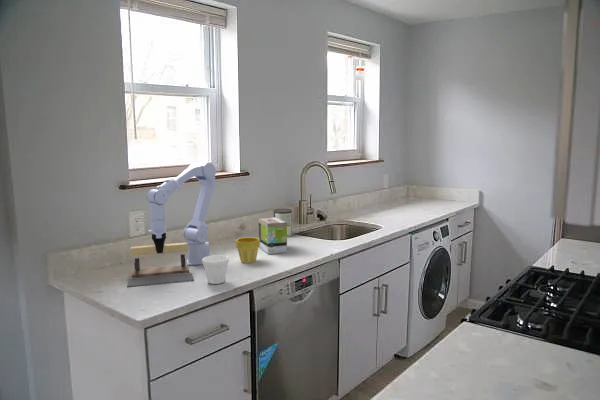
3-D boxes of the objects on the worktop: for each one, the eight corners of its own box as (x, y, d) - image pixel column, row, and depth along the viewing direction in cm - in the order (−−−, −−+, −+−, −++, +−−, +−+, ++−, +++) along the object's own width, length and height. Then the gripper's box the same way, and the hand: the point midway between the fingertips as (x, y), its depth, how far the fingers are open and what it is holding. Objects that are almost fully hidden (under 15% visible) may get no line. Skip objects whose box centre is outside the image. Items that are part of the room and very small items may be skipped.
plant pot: (246, 256, 211) (245, 235, 209) (264, 259, 206) (264, 238, 204) (231, 262, 202) (230, 240, 201) (250, 265, 197) (250, 243, 195)
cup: (197, 282, 175) (196, 258, 174) (219, 276, 182) (218, 253, 181) (212, 288, 168) (211, 263, 167) (234, 282, 175) (234, 258, 174)
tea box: (287, 252, 218) (287, 221, 216) (267, 254, 215) (267, 223, 212) (277, 245, 232) (277, 216, 230) (258, 247, 228) (257, 218, 226)
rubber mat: (192, 274, 186) (192, 273, 186) (193, 280, 177) (193, 279, 177) (128, 279, 179) (128, 278, 179) (127, 287, 170) (127, 286, 170)
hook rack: (187, 267, 195) (187, 253, 195) (189, 272, 188) (188, 258, 187) (132, 272, 189) (131, 257, 188) (131, 277, 181) (130, 263, 181)
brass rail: (187, 249, 192) (187, 242, 192) (187, 251, 189) (187, 244, 189) (131, 254, 186) (130, 246, 185) (130, 255, 183) (130, 248, 183)
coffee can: (269, 235, 256) (269, 209, 254) (284, 232, 263) (284, 207, 261) (281, 238, 248) (280, 212, 246) (296, 235, 255) (295, 210, 253)
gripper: (147, 216, 191) (149, 248, 193) (147, 223, 178) (149, 257, 180) (165, 215, 193) (167, 247, 195) (166, 221, 180) (168, 255, 182)
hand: (159, 252), depth 188 cm, fingers closed on brass rail, 3 cm apart
